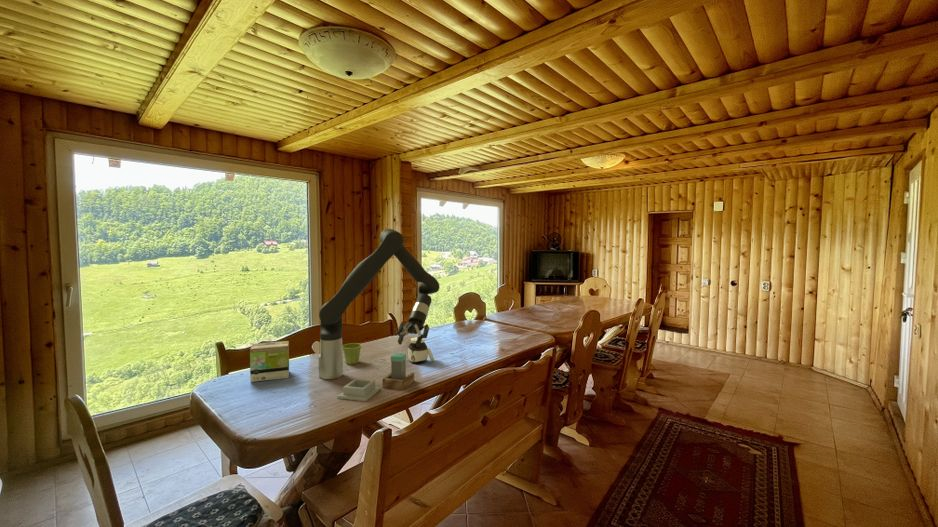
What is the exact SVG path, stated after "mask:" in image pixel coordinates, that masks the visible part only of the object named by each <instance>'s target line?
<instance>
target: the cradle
mask: <svg viewBox="0 0 938 527" xmlns="http://www.w3.org/2000/svg"><path fill="white" fill-rule="evenodd" d="M414 382H415V372H410V373H409V374H408V375H407V376H406V378H405V379H404V380H399V379H391V372H390V373H388V374H387V375H386V376H384V378H382V388H386V389H393V390H395V389H396V390H406V389H408V387H410V386H411V384H413V383H414Z"/></svg>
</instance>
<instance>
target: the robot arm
mask: <svg viewBox="0 0 938 527" xmlns="http://www.w3.org/2000/svg"><path fill="white" fill-rule="evenodd" d="M379 242H380V244H379V245H378V247H377V248H376V249H375V250H374V251H373V252H372V253H371V254H370V255H368V256H367V257H366V258H364V259H363V260H361V261H360V262H359V263H358V264H357V265H355V267H354V268H353V270H352V271H351V272H350V273H349V275H348V276H347V278H346V279H345V280H344V282H343V283H342V285H341V286H340V288H339V290H338V291H336V292H337V293H336V294H335V295H334V296H332V297H331V299H330V300H329V301H327V302H324V304H322V306H321V307H320V308H319V313H318V316H319V321H320V323H319V325H320V328H319V329H320V331H319V341H320V342H319V346H320V349H319V350H320V354H319V356H318V378H321V379H323V380H335V379H339V378H342V377H343V375H344V373H343V372H344V369H343V368H344V367H343V357H344V356H343V348H342V346H343V315H344V313H345V312H346V310H347V309H348V307H349V306H350V304H351V303H353V301H354V300H355V299H356V298H357V297H358V296H359V295H360V294H361V293H362V292H363V291H364V290H365V289H366V288H367V287H368V285H369V284H370V283H371V282H372V281H373V280H374V278H375V277H376V275H377V274H378V273H379V272H380V271H381V269H382V268H383V267H384V266H385V264H387V262H388V261H389V260H390V259H391V258H392V257H393V256H395V258H396V259H397V260H398V261H399V263H400V264H401V265H402V266H403V268H404V269H405V270H406V271H407V273H408V274H409V275H410V276H411V278H412V279H413V280H414V282H416V283H419V284H418V288H417V298H416V301H415V304H414V305H413V307H412V309H411V312H410V314H409V317H408V321H407V323H404V322H402V321H401V322H400V324H399V327H398V329H397V331H396V334H397V335H398V336H399V337H398V339H397V343H398V344H399V345H402V344H403V341H404V338H405V337H406V336H408V335H409V334H410V335H412V334H414V335H418V336H417V337H418V338H417V341H416V346H419V345H420V343H421V341H422V339H423V338H424V339H427V338H428V335H429V331H430V326H429V325H428V324H427V323H426V320H427V317H428V315H429V311H430V306H431V304H432V297H431V295H432V294H436V293H438V292H439V290H440V287H441V286H440V283H439V281H438V280H437V279H436V278H435V277H434V276H433V275H432V274H430V273H429V272H427V271H426V269H425V268H424V267H423V266H422V264H421V263H420V262H419V261H418V260H417V259H416V258H415V257H414V256H413V255H412V254H411V253H410V252H409V251H408V249H407V248H406V247H405V246H404V242H405V241H404V236H403V235H402V233H401V232H399V231H397V230H395V229H392V228H386V229H384V230H382V231H381V233H380V235H379ZM425 323H426V324H425ZM422 330H423V333H422V332H421V331H422Z"/></svg>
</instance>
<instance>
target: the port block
mask: <svg viewBox="0 0 938 527" xmlns="http://www.w3.org/2000/svg"><path fill="white" fill-rule="evenodd" d="M342 388H343V389H342V392H340V393H339V394H338V395H337V399H340V400H347V401H348V400H349V401H359V402H367V401H368V400H369V399H371V398H373V396H375V394H377V393H378V392H379V391H380V390H381V386H376V380H372V379H359V378H354V379H353V380H351V381H349V383H347V384H345V385H344V386H343V387H342Z"/></svg>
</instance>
